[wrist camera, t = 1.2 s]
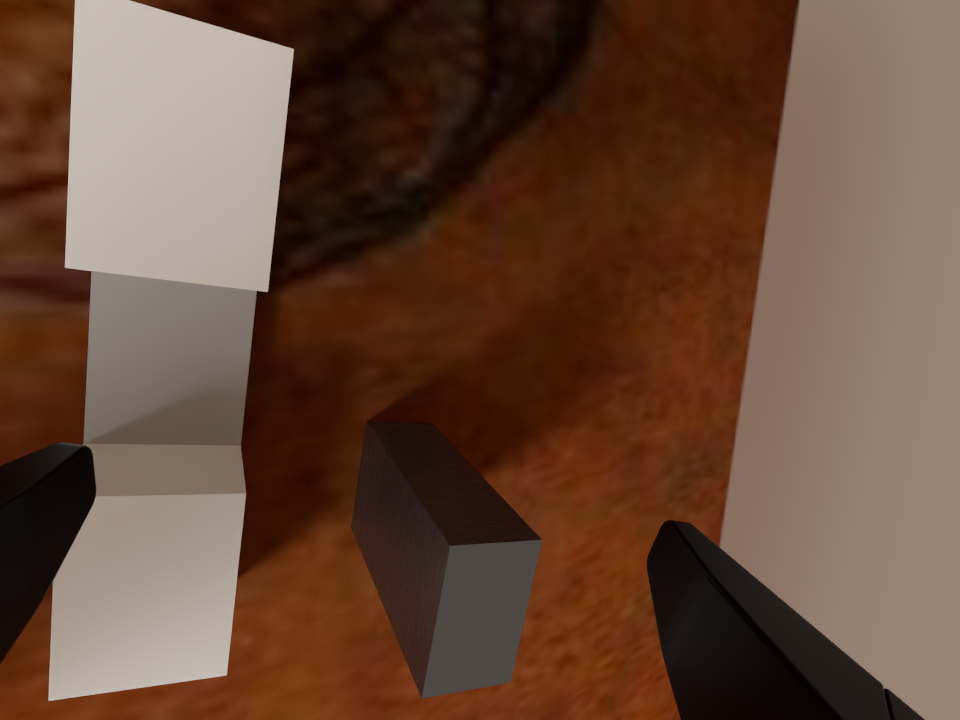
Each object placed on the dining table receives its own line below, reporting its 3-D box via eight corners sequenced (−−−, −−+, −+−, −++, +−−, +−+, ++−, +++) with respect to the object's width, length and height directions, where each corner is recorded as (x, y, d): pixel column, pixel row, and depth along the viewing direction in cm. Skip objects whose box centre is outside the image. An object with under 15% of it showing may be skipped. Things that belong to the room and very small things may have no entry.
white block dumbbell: (223, 587, 24) (226, 675, 20) (80, 600, 22) (48, 700, 18) (276, 79, 20) (293, 49, 16) (108, 33, 18) (75, -16, 14)
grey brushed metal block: (414, 524, 27) (510, 682, 19) (351, 527, 26) (421, 698, 17) (432, 423, 26) (542, 539, 18) (366, 421, 25) (450, 546, 16)
